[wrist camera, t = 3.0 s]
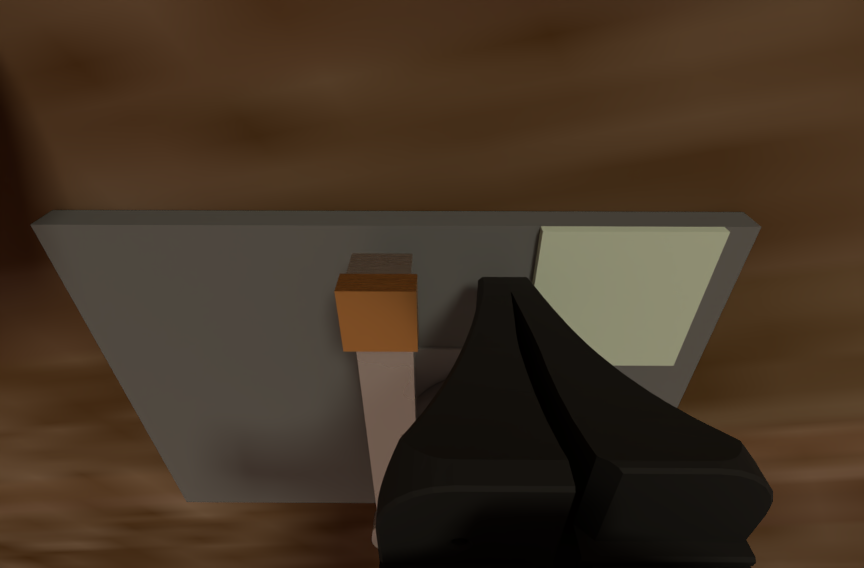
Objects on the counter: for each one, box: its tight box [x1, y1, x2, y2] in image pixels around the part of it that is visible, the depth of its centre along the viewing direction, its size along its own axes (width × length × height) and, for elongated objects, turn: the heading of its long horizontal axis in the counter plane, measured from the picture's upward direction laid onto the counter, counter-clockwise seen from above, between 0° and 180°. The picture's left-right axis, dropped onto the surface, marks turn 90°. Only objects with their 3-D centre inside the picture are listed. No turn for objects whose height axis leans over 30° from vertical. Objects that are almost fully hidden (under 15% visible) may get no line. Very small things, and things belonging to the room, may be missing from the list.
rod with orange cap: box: [334, 253, 419, 548], centre depth 15 cm, size 14×2×2 cm, turn 0°
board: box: [31, 210, 761, 503], centre depth 16 cm, size 14×20×2 cm
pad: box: [532, 226, 730, 366], centre depth 14 cm, size 5×5×1 cm
